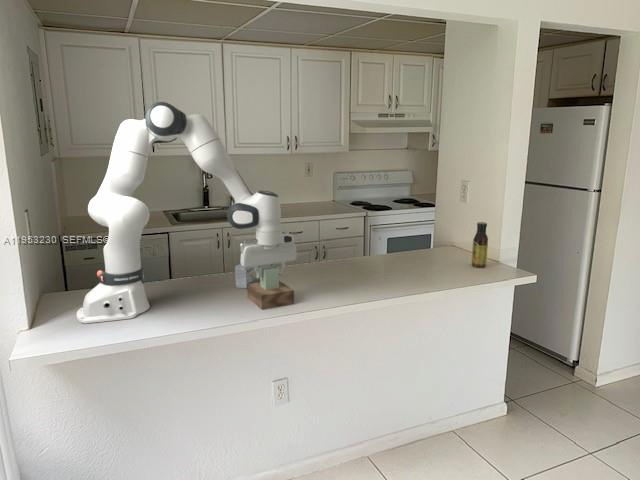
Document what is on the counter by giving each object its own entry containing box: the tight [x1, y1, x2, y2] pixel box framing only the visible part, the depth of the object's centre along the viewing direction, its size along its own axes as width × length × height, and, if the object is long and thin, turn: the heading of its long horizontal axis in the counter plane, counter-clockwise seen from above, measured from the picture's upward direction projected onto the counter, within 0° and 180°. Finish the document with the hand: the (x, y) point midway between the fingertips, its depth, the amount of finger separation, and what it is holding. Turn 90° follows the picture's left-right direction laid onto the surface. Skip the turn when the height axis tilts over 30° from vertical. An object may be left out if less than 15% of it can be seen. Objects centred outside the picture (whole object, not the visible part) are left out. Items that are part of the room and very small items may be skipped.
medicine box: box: [234, 263, 254, 289], centre depth 186 cm, size 8×4×9 cm, turn 168°
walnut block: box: [246, 280, 295, 310], centre depth 169 cm, size 12×14×5 cm
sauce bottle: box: [471, 221, 489, 268], centre depth 210 cm, size 6×6×20 cm
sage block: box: [259, 265, 280, 290], centre depth 168 cm, size 5×5×7 cm
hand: (269, 276), depth 168 cm, fingers open, 6 cm apart
